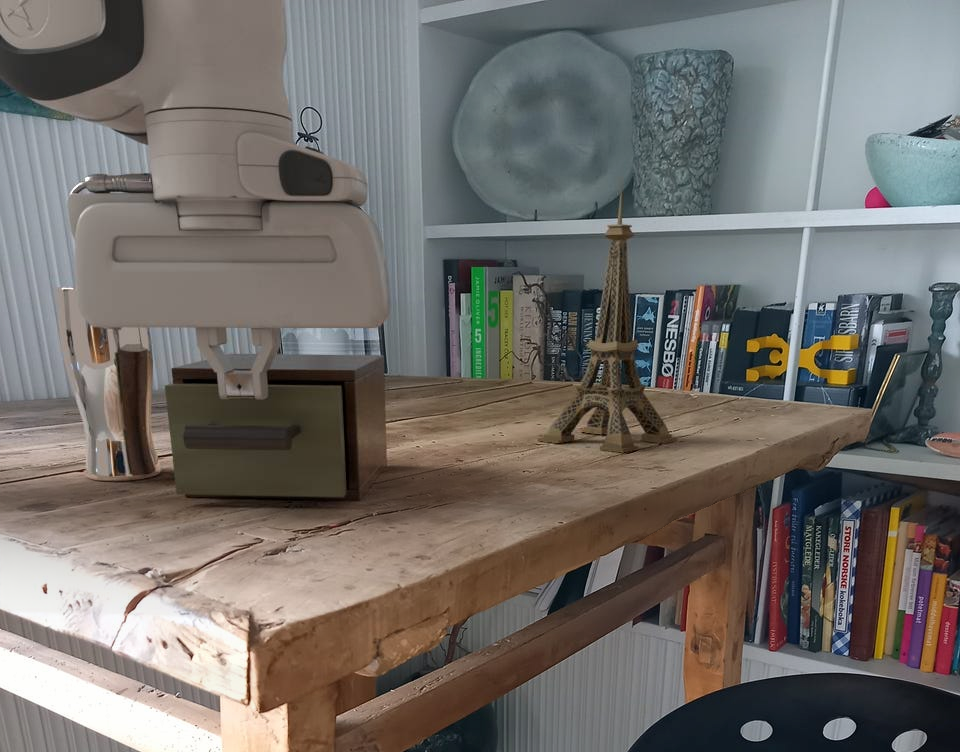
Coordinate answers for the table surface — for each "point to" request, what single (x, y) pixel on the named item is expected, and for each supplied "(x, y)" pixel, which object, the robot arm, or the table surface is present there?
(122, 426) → the beer glass
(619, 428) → the eiffel tower
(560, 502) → the table surface
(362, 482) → the cabinet
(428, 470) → the table surface
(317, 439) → the drawer
